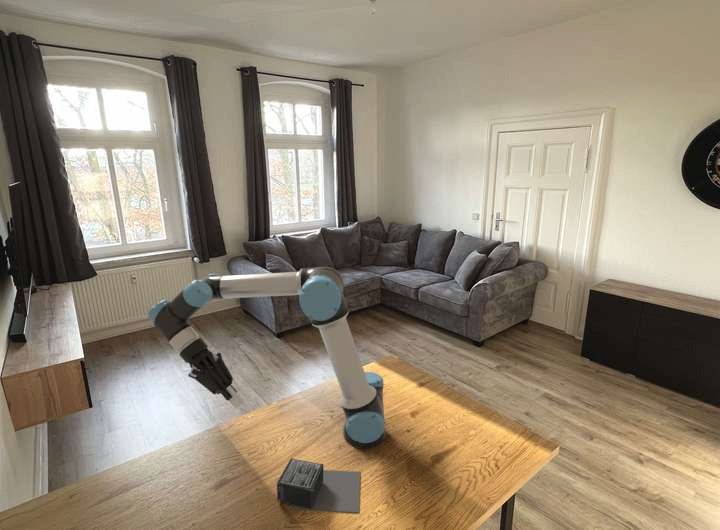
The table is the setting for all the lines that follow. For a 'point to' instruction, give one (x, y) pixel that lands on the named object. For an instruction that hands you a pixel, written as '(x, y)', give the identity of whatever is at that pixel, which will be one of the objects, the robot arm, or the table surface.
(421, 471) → the table surface
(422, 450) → the table surface
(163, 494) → the table surface
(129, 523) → the table surface
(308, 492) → the small box
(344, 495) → the mat
